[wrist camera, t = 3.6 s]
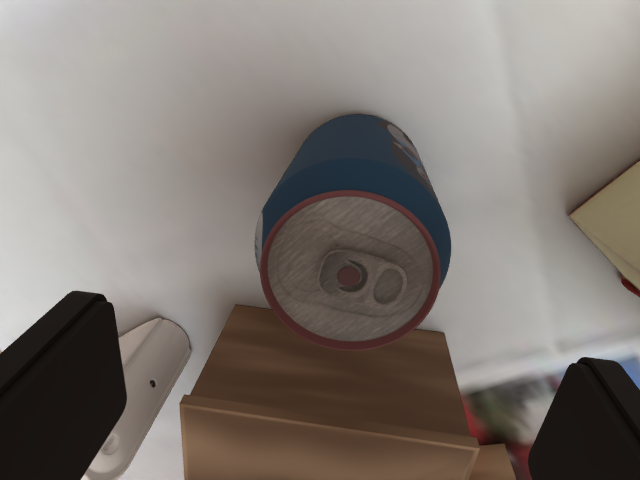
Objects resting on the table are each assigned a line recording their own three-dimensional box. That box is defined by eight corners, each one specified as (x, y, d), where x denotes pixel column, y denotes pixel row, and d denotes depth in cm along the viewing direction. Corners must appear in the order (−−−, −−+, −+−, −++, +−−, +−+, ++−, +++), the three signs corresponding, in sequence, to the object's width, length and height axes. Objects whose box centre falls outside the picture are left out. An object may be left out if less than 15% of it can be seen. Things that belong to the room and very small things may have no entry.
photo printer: (164, 305, 30) (41, 464, 19) (204, 348, 31) (111, 521, 20) (69, 363, 33) (-83, 528, 22) (109, 400, 34) (-16, 574, 23)
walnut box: (408, 476, 34) (421, 611, 26) (232, 449, 35) (191, 572, 27) (448, 330, 28) (479, 448, 20) (232, 301, 29) (179, 403, 21)
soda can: (285, 211, 26) (225, 335, 15) (313, 94, 23) (263, 143, 12) (396, 242, 26) (415, 387, 15) (438, 130, 23) (500, 210, 12)
